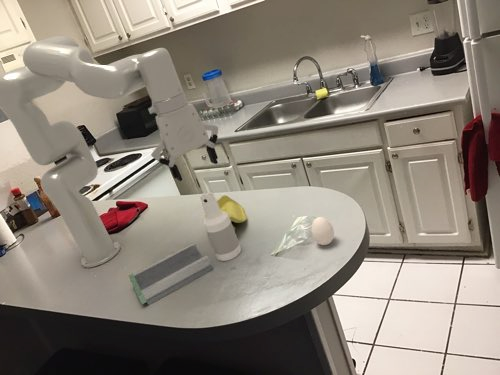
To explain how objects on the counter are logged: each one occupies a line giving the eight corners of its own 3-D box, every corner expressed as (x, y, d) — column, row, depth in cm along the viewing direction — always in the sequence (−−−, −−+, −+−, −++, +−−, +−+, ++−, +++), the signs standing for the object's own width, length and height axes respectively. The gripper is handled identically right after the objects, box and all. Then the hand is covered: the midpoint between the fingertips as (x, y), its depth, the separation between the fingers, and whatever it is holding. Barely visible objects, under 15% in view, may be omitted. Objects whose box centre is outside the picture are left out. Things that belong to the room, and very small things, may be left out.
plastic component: (204, 213, 137) (226, 191, 136) (221, 227, 140) (243, 206, 138) (206, 237, 119) (232, 213, 117) (225, 254, 121) (250, 230, 120)
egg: (332, 250, 102) (325, 224, 99) (312, 249, 104) (304, 224, 102) (339, 237, 106) (332, 211, 103) (319, 237, 108) (312, 212, 106)
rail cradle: (133, 286, 115) (128, 275, 113) (197, 252, 121) (193, 241, 119) (143, 307, 104) (138, 296, 103) (213, 269, 110) (208, 257, 109)
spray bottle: (213, 262, 113) (189, 203, 106) (221, 247, 119) (198, 190, 112) (237, 259, 111) (214, 199, 104) (243, 244, 117) (222, 186, 110)
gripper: (139, 120, 93) (169, 190, 99) (210, 91, 98) (234, 159, 105) (132, 117, 99) (161, 183, 106) (199, 90, 105) (222, 154, 111)
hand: (197, 171), depth 105 cm, fingers open, 9 cm apart
